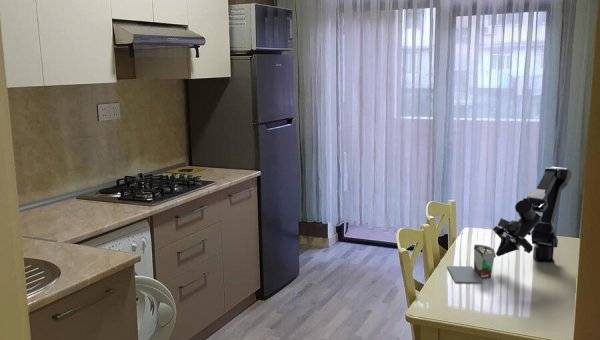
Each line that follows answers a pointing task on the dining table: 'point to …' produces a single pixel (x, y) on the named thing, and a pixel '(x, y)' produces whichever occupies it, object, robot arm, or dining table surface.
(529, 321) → the dining table surface
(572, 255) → the dining table surface
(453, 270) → the grey rubber mat
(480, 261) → the food container
